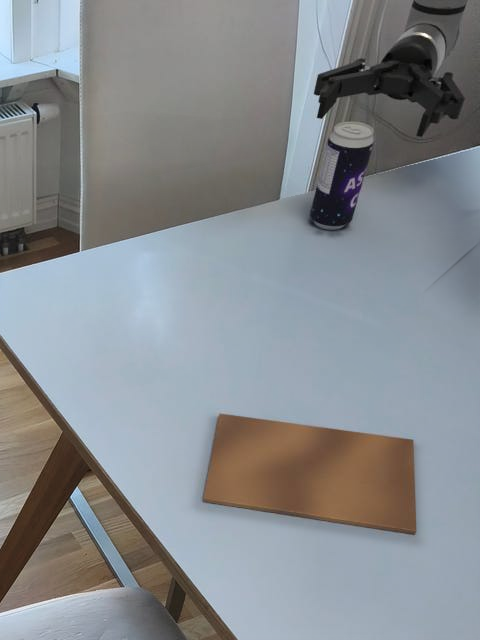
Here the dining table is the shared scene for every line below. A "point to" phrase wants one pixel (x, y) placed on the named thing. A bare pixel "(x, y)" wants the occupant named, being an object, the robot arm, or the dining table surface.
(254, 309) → the dining table surface
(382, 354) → the dining table surface
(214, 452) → the copper plate
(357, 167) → the beverage can
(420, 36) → the robot arm
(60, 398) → the dining table surface
